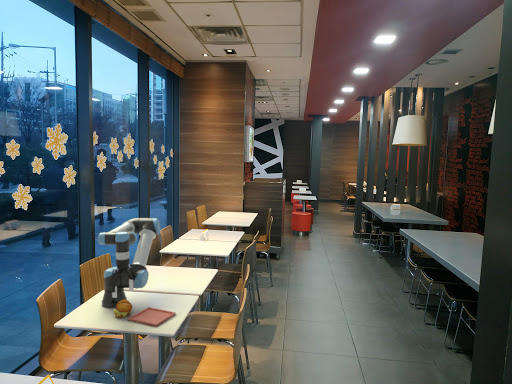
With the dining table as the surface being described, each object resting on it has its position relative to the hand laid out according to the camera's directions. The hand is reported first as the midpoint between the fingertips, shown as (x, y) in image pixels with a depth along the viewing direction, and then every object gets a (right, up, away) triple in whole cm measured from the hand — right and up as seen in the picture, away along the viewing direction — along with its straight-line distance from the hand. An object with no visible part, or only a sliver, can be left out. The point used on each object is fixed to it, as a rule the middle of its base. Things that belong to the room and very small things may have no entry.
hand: (123, 293), depth 218 cm
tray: (+18, -13, -2) cm, 23 cm away
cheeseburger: (0, -13, +1) cm, 13 cm away
